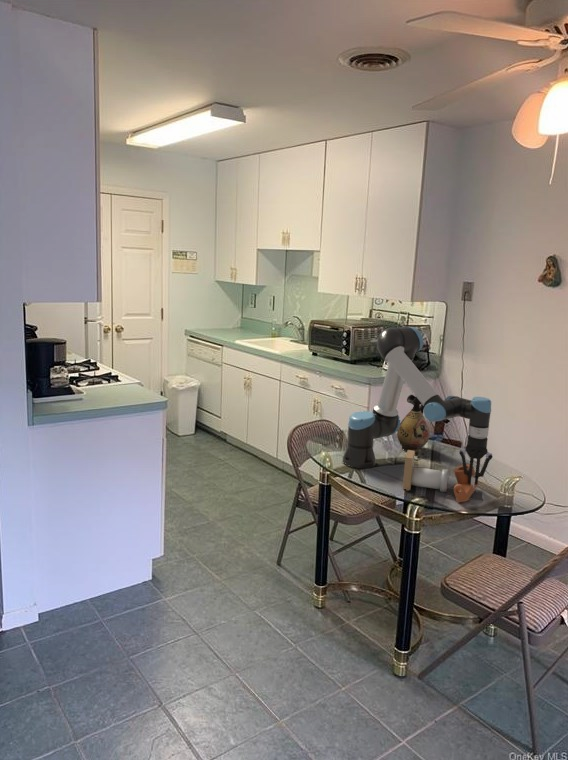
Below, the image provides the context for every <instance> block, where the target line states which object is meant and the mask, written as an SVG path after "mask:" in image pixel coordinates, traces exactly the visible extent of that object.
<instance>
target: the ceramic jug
mask: <svg viewBox="0 0 568 760" xmlns="http://www.w3.org/2000/svg"><path fill="white" fill-rule="evenodd" d="M406 402H407V403H409V404H410V405H413V407H412V408H411V409H410V411H409V412H408V413H407V414H406V415H405V416H404V418H402V420H401V421H400V427H399V429H398V431H397V432H396V436H397V440H398V443H399V444H400V446H401V449H402V450H403V449H404V450H403V451H404V452H405V451H406V452H407V451H408V450H412V451H415V453H418V452H420V451H421V450H422V448H423V447H424V446H425V445H426V444H427V443H428V441H429V439H430V438H429V437H430V430H429V426H428V423H427V421H426V417H425V415H424V406H423V405H422V404H421V402H420V401H419V400H418V398H417V397H416V396H415V395H414V394H410V395H408V396H407V398H406Z"/></svg>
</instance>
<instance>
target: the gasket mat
mask: <svg viewBox="0 0 568 760" xmlns="http://www.w3.org/2000/svg"><path fill="white" fill-rule="evenodd" d="M456 490H457V489H456ZM483 495H484V493H483V491H476V490H474V493H472V495H471V496H470V498H469V499H468V500H476V501H482V502H483V501H484V497H483ZM446 496H448V497H455V493H454V487H449V486H447V488H446Z"/></svg>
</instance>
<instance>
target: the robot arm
mask: <svg viewBox="0 0 568 760" xmlns="http://www.w3.org/2000/svg"><path fill="white" fill-rule="evenodd" d="M423 345H424V338H423V335H422V332H421V331H420V330H419V329H418V328H417V327H414V326H400V327H387V328H385V329H383V330H382V331H381V332H380V333H379V335H378V336H377V340H376V347H377V350H378V352H379V354H380V357H381V358H382V359H383V360H384V362H385V363H387V369H386V372H385V375H384V380H383V384H382V387H381V391H380V396H379V399H378V403H376V404H375V405H374V406H373V410H372V411H368V410H367V411H366V410H363V411H361V410H360V411H356V412H354V413H351V414H350V416H349V419H348V424H347V425H348V426H347V444H346V448H345V451H344V453H343V456H342V463H343V462H344V463H346V464H347V465H350V466H352V467H351V468H353V467H356V468H355V469H370V468H373V467H375V465H376V462H377V461H376V460H377V459H376V455H375V451H374V440H377V439H379V438H380V439H381V438H385V437H389V436H392V435H395V434H397V432H398V429H399V427H400V423H401V419H400V415H399V411H398V409H397V407H398V403H399V399H400V396H401V393H402V388H403V385H404V383H405V384H406V386H407V387H408V388H409V390H410V391H411V392H412V393H413V395H414V396H415V397H417V398H418V400H419V401H420V402H421V404H422V405H423V406H424V410H423V415H424V418H425V420H426V419H427V420H428V421H429V422H433V423H434V422H441V421H444V420H449V419H454V418H458V417H460V418H464V419H468V420H469V422H468V433H467V434H468V435H467V441H466V446H465V447H464V449H459V455H460V457H461V461H462V462H461V463H462V465H463V469H464V474H465V475H468V484H471V485H473V488H474V485H477V484H478V483H479V478H481V477H482V478H483V477H484V475H485V474H486V473H485V472H486V470H487V468H488V466H489V463H490V461H491V460H492V458H493V453H490V451H488V448H487V447H488V437H489V431H490V430H489V429H490V420H491V412H492V400H491V399H490V398H488V397H484V396H483V397H482V396H473V397H472V398H471V399H467V398H463V397H460V396H457V395H456V396H455V395H448V396H447V397H446V398H444V399H443V398H442V397H441V395H439V394H438V392H437V391H436V390H435V389H434V387H433V386H432V384H431V383H430V382H429V381H428V380H427V379H426V377H425V376H424V375H423V373H422V372H421V371H420V370H419V369H418V368H417V366H416V364H414V362H413V361H414V359H415V355H416V353H418V352H420V351H421V350H422V348H423ZM421 404H420V405H421ZM466 454H467V455H468V457H469V458H470V459H469V464H470V465H469V471H467V466H466V464H467V462H466V461H467V460H466ZM483 457H485V459H484V463H483V464H482V467H481V460H482V458H483ZM475 459H476V462H475V463H476V464H475V475H472V469H473V467H474V460H475ZM344 463H343V464H344ZM347 465H346V466H347ZM350 466H349V467H350ZM480 467H481V471H480ZM478 485H479V484H478ZM473 493H474V492H473Z"/></svg>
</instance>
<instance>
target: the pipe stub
mask: <svg viewBox="0 0 568 760" xmlns="http://www.w3.org/2000/svg"><path fill="white" fill-rule="evenodd" d="M415 453H416V452H415V451H412V450H408V451H406V455H405V458H404V468H403V469H404V471H403V482H402V490H403V489H406V490H405V491H409V490H410V491H411V487H412V486H415V487H422V488H428V489H434V490H435V489H436V490H439V492H441V493H447V487H448V478H449V476H448V475H449V469H445V468H442V469H441V470H438V469H432V468H425V467H416V466H414V465H415V455H416V454H415Z"/></svg>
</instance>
